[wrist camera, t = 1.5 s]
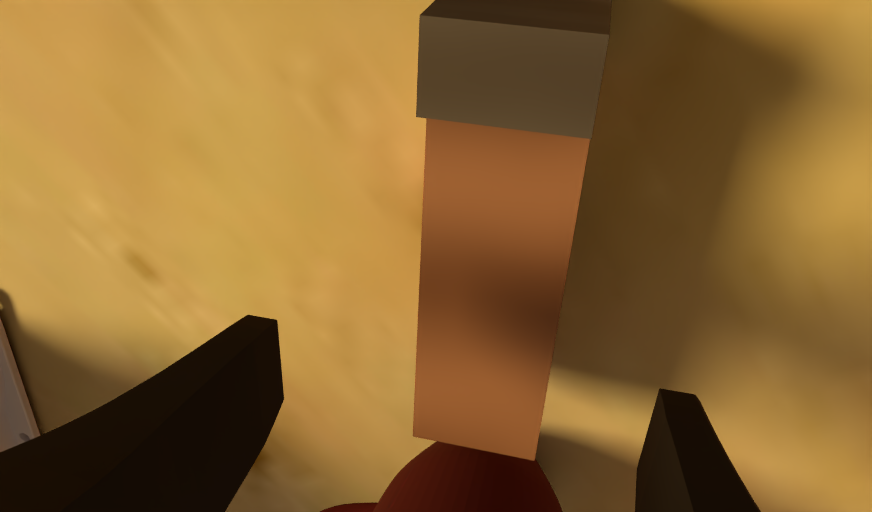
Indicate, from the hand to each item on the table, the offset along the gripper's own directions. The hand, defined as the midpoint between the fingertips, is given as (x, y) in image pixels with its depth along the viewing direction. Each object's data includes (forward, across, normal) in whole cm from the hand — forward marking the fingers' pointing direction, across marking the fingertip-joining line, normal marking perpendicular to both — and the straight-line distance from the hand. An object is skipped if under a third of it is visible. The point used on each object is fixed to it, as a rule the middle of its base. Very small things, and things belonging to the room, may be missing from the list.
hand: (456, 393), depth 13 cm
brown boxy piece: (+9, 0, 0) cm, 9 cm away
